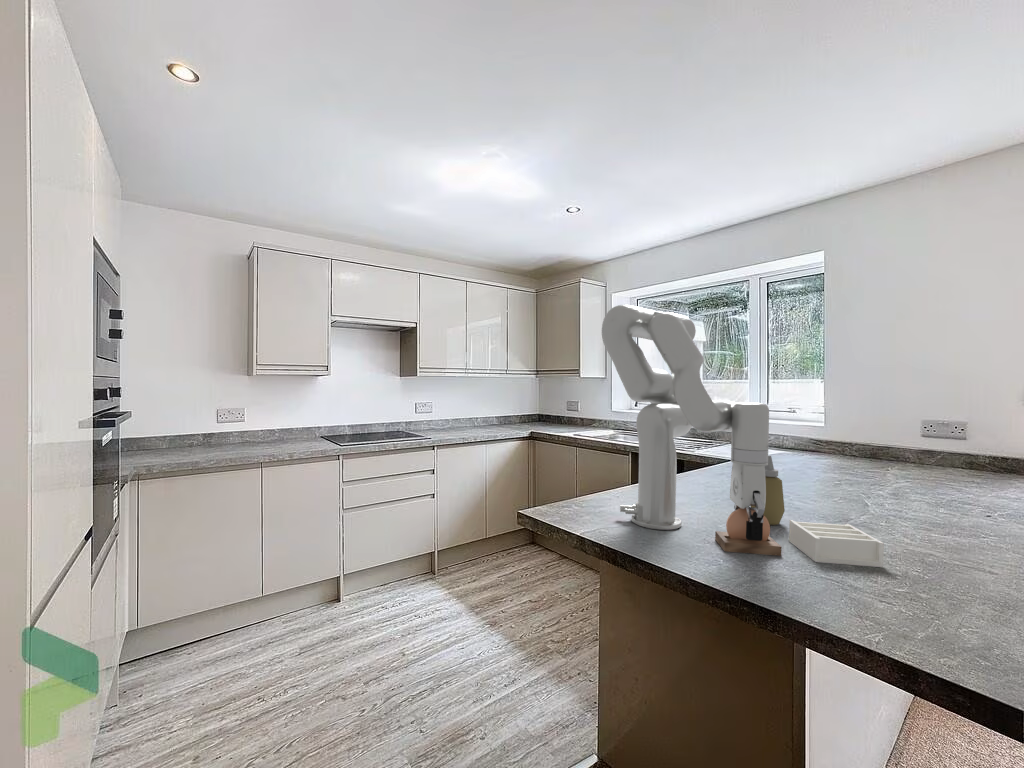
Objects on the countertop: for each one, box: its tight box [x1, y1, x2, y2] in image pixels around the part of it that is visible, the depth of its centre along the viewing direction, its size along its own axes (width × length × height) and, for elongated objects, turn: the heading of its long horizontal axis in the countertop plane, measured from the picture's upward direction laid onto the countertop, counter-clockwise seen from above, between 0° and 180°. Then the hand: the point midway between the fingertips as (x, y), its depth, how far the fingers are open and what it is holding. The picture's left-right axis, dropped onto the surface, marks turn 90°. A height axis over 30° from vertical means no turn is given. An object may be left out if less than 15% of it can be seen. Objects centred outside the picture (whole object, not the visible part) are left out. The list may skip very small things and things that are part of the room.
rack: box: [788, 519, 885, 568], centre depth 103 cm, size 13×13×5 cm
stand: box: [714, 530, 783, 557], centre depth 105 cm, size 12×8×2 cm
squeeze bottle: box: [750, 455, 785, 526], centre depth 125 cm, size 8×8×18 cm
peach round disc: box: [725, 508, 771, 541], centre depth 105 cm, size 1×9×9 cm, turn 80°
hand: (747, 533), depth 105 cm, fingers open, 7 cm apart
